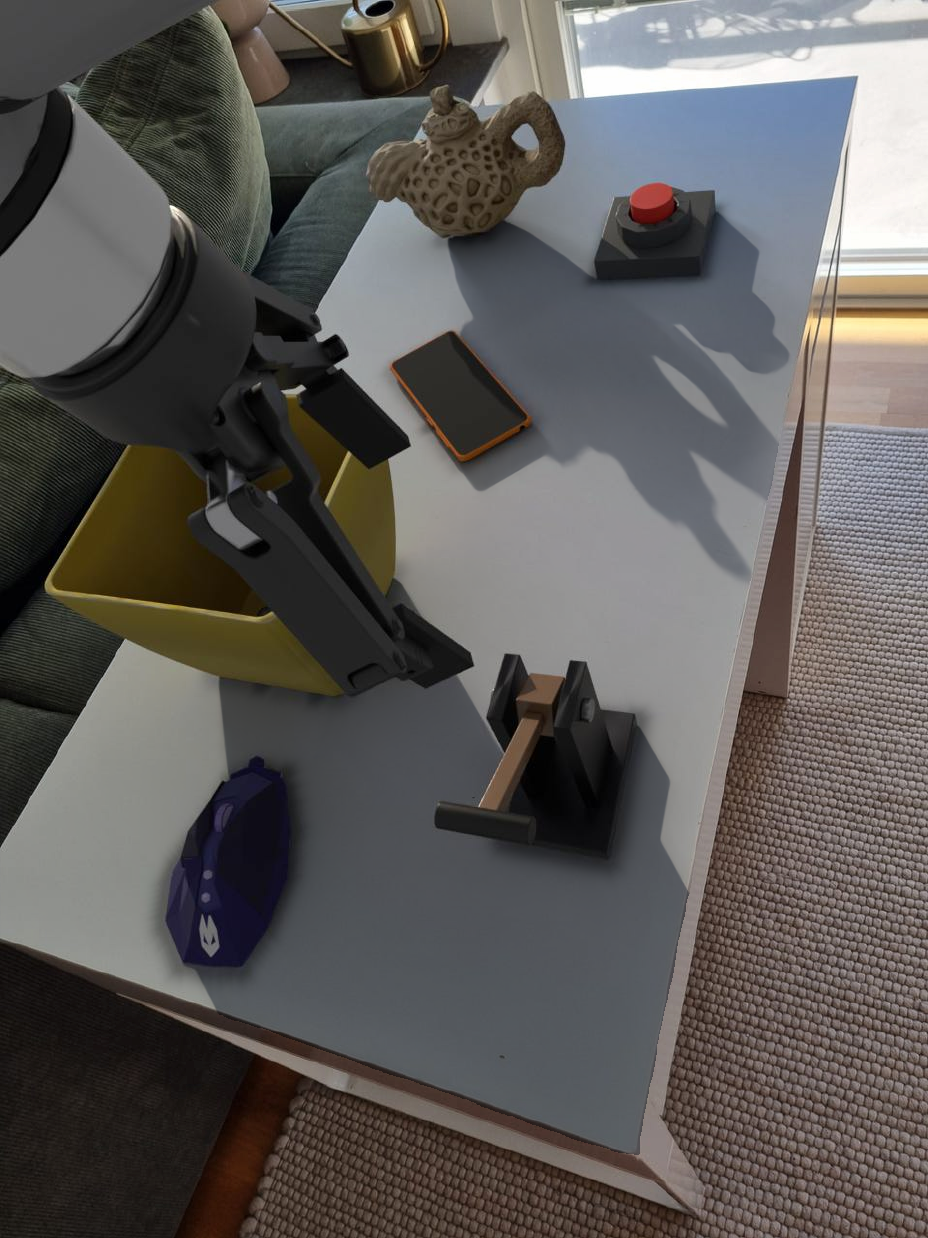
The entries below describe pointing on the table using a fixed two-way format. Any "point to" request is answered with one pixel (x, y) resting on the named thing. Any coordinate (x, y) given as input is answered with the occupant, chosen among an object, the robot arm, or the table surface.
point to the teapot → (468, 163)
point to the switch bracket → (568, 762)
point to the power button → (652, 203)
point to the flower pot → (211, 562)
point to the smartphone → (459, 395)
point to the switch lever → (509, 770)
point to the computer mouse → (231, 869)
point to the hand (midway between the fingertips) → (416, 554)
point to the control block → (656, 239)
